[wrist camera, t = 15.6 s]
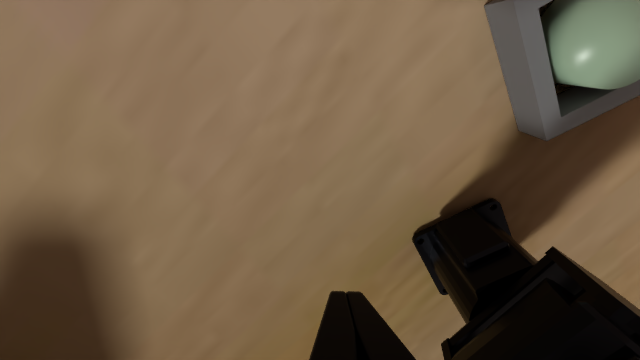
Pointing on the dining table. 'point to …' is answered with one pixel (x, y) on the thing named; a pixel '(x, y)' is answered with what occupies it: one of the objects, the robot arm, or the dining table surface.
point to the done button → (593, 42)
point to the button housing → (542, 74)
